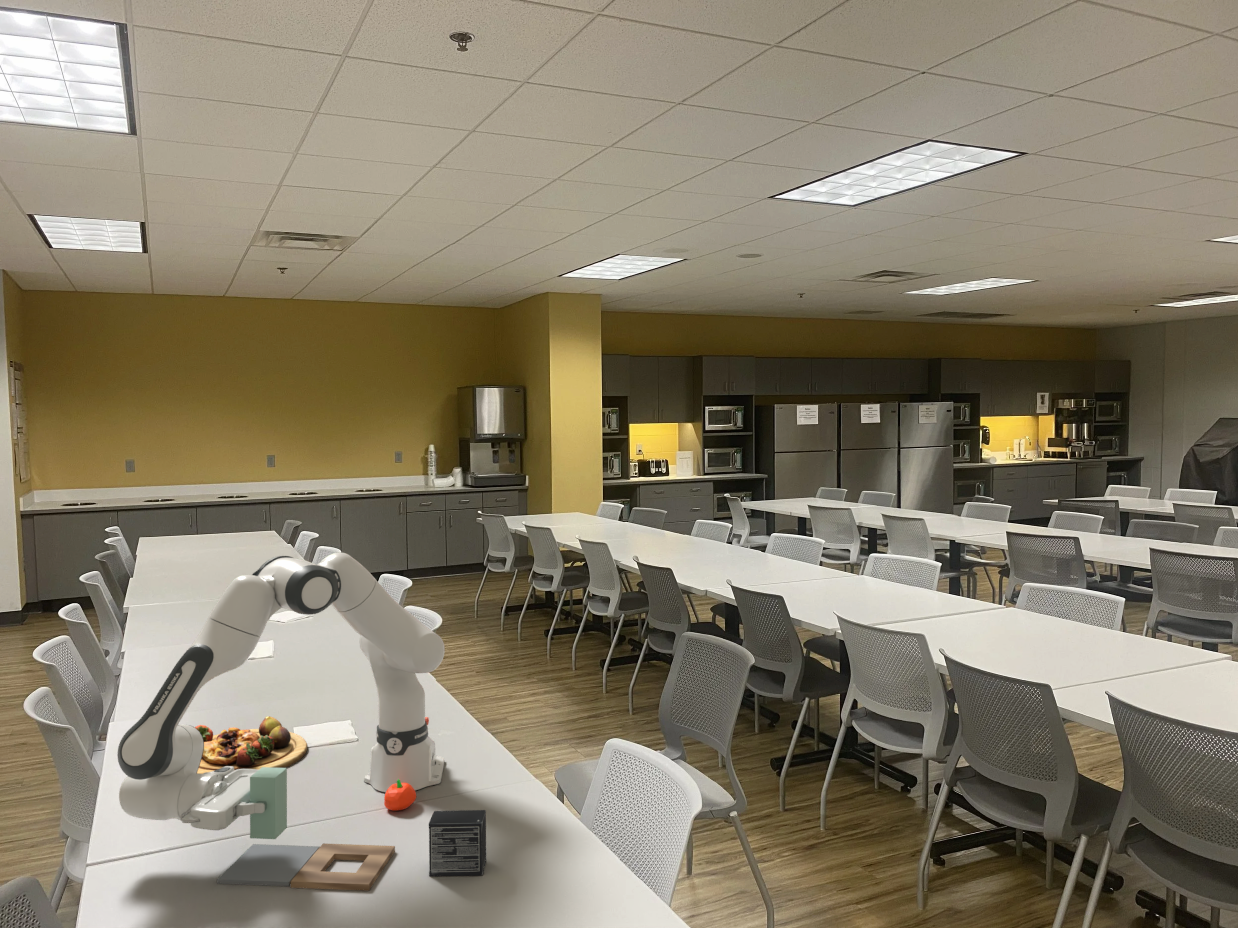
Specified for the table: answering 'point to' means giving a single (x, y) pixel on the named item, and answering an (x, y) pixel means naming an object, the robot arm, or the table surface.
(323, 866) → the pocket board
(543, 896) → the table surface
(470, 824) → the small box
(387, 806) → the pumpkin
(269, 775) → the green block
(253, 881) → the rubber mat
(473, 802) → the table surface
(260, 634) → the robot arm
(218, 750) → the wooden plate with food
